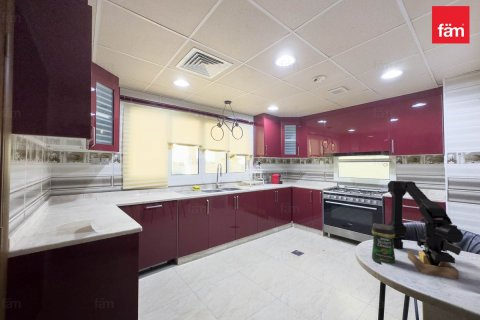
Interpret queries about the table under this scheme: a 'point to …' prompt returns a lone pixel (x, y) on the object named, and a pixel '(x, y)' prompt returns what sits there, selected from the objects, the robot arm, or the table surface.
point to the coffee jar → (383, 243)
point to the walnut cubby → (434, 268)
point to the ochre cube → (423, 258)
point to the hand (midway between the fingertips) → (434, 269)
